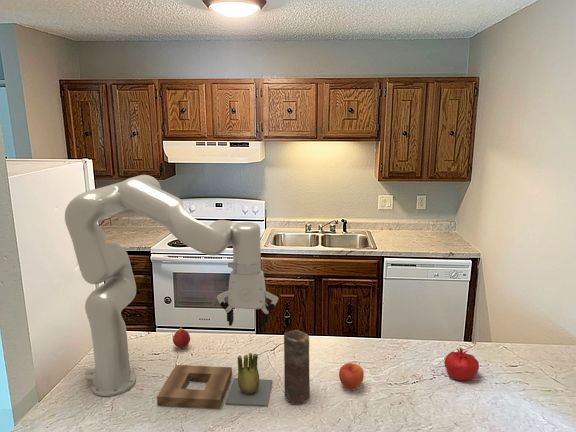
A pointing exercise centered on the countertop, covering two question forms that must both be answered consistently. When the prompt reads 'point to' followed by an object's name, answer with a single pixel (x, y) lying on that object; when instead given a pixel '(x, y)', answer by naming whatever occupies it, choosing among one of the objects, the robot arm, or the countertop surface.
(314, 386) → the countertop surface
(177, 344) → the red ovoid
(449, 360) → the pomegranate
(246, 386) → the fennel bulb
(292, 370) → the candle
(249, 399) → the mat
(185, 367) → the pocket holder
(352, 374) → the apple
